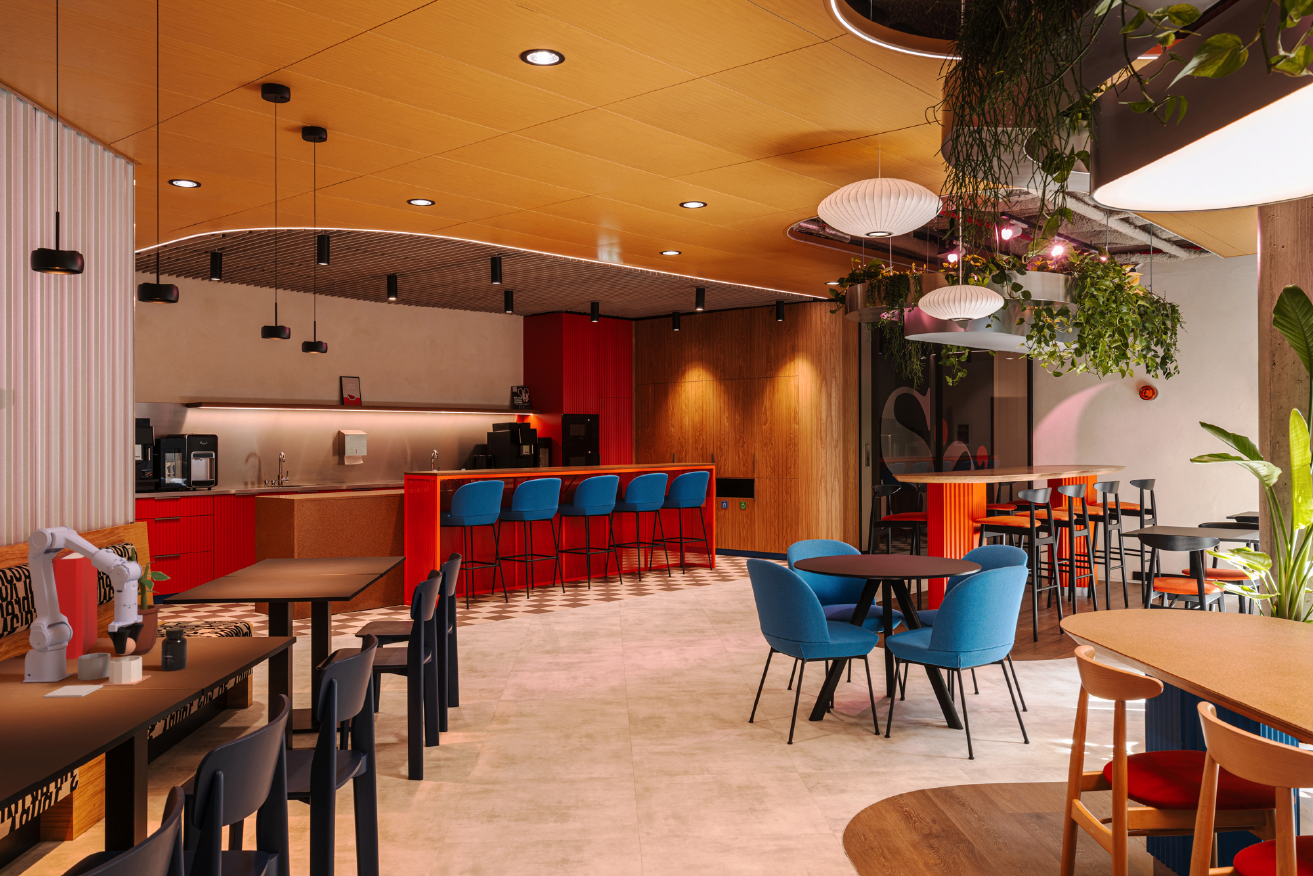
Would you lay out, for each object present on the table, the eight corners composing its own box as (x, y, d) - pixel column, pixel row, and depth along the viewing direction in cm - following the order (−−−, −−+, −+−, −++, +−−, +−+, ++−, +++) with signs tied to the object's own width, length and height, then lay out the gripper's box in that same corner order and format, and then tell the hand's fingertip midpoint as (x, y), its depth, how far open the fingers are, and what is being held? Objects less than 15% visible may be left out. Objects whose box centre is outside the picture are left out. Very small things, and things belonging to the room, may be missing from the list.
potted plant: (144, 658, 280) (145, 548, 281) (96, 658, 281) (97, 548, 281) (175, 646, 298) (175, 542, 298) (130, 646, 298) (130, 543, 299)
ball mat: (43, 697, 236) (43, 695, 236) (65, 687, 246) (65, 685, 246) (82, 696, 236) (82, 694, 236) (102, 686, 246) (103, 685, 246)
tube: (99, 685, 247) (99, 663, 247) (117, 677, 257) (117, 655, 257) (133, 685, 248) (134, 662, 248) (151, 676, 257) (151, 655, 258)
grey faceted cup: (71, 680, 253) (72, 659, 253) (87, 673, 261) (88, 653, 261) (100, 679, 254) (100, 659, 254) (115, 672, 262) (115, 652, 262)
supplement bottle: (160, 672, 262) (160, 632, 262) (161, 667, 268) (161, 628, 268) (186, 669, 265) (186, 630, 266) (187, 664, 271) (187, 626, 272)
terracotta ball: (111, 657, 250) (112, 639, 250) (120, 653, 255) (120, 636, 255) (130, 656, 250) (130, 639, 250) (138, 653, 255) (139, 635, 255)
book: (69, 643, 303) (70, 550, 303) (96, 641, 306) (97, 549, 306) (50, 660, 278) (51, 559, 278) (80, 658, 281) (81, 558, 281)
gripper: (126, 608, 246) (126, 657, 246) (153, 600, 260) (152, 645, 260) (100, 609, 245) (100, 657, 245) (128, 600, 260) (128, 646, 260)
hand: (125, 651), depth 253 cm, fingers closed on terracotta ball, 5 cm apart
